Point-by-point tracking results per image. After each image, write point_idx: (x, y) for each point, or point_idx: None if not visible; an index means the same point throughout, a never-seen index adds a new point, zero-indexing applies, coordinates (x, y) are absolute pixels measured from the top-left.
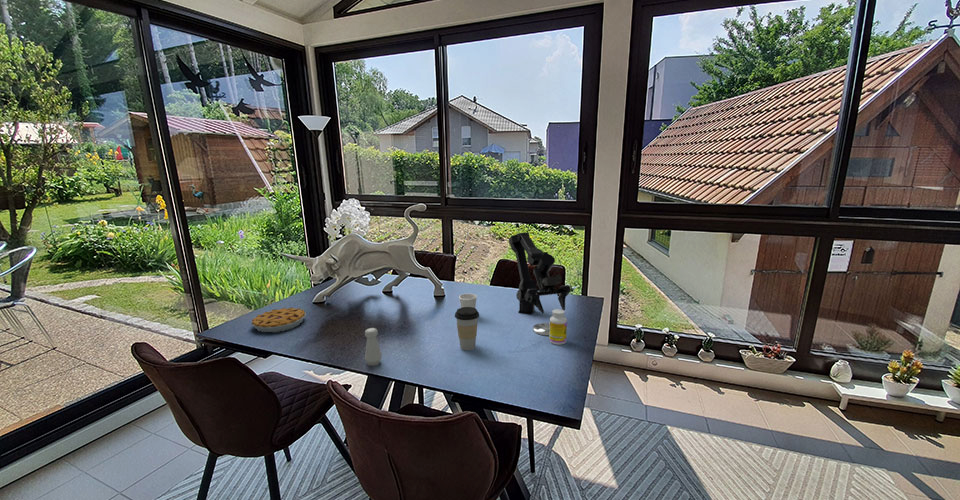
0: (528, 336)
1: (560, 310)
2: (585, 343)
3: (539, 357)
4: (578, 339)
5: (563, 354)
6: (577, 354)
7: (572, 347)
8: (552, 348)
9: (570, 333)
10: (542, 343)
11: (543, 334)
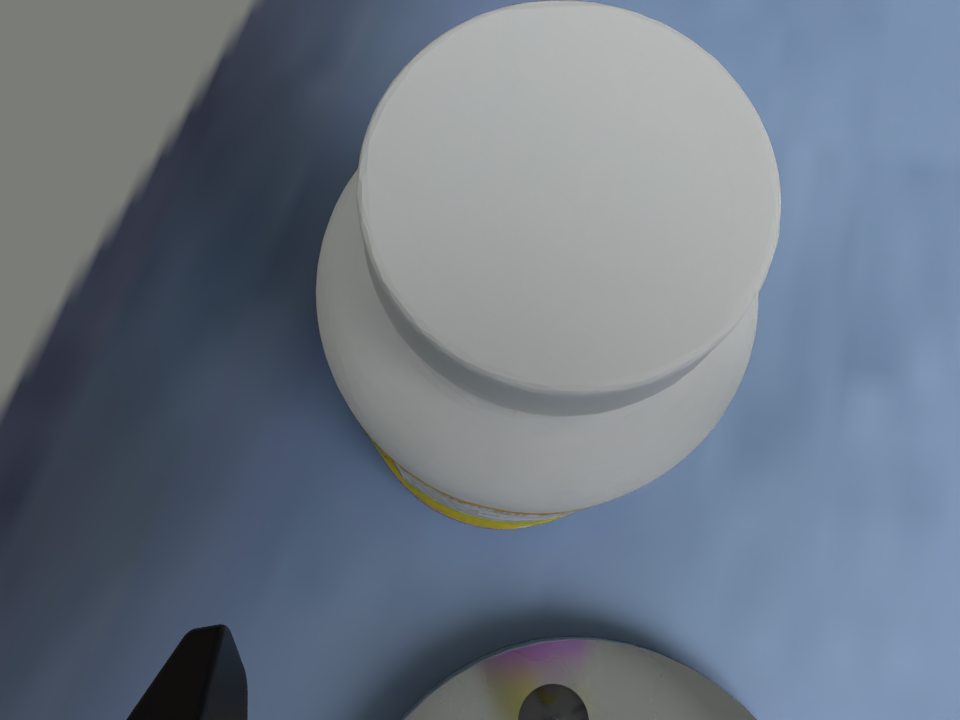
0: (924, 658)
1: (481, 239)
2: (105, 289)
3: (842, 12)
4: (149, 435)
5: None
6: (353, 14)
7: None
8: None
9: None
10: None
11: (676, 662)
